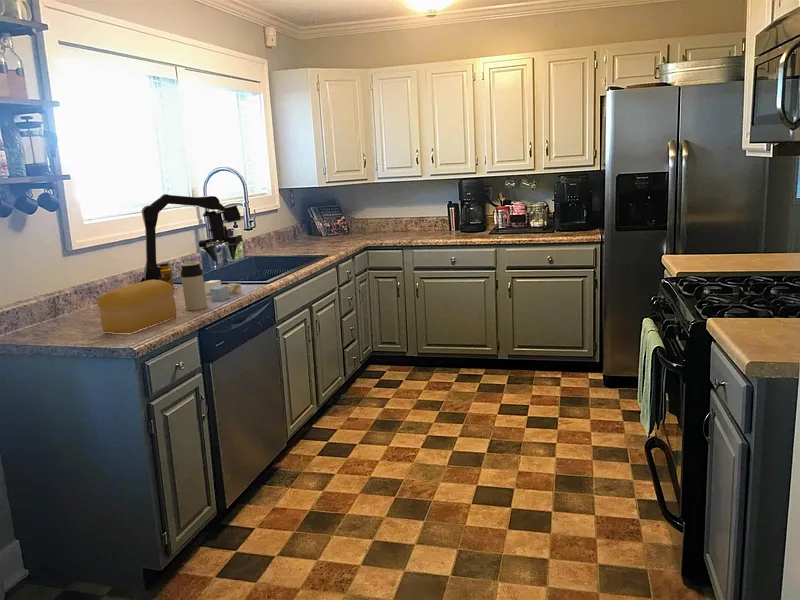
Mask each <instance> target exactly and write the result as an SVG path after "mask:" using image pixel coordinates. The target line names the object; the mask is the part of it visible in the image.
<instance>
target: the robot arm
mask: <svg viewBox="0 0 800 600" xmlns="http://www.w3.org/2000/svg"><path fill="white" fill-rule="evenodd" d="M169 204H170V205H182V206H193V207H194V206H195V207H200V208H203V209H208V210H210V211H208V210H204V212H203V214H202V217H207V219H208V224H209V229H208V231H209V232H210V233H211V237H209V238H203V239H200V240H199V241H198V247H199V248H201V249H202V250H204V251H205V252H206V254H208V255H209V256H210V258H211V259H212V260H213V261H214V263H215V262H217V255H216V252H215V247H216V246H215V245H218V244H228V245H227V248H228V250H229V254H230V257H231V259H232V261H234V260H236V252H237V247H238V246H239V245H240V244H241V242H243V237H242V235H240V234H237V235H234V230H231V229H227V225H224V222H226V223H227V224H230V223H234V222H239V221H241V219H242V217H241V213H240V211H239V209H238V205H236V204H235V205H231V206H227V207H225V206H224V205H223V204H221V202H220V200H219V198H218V197H217V196H215V195H214V196H213V195H205V196H187V195H186V196H184V195H175V194H167V193H164V194H162V195H161V196H160V197H159V198H158V199H156V200H155V201H153V202H152V203H151V204H147V205H145V206H143V207H142V209H141V216H142V219H143V225H144V227H145V228H144V229H145V231H144V232H145V258H146V259H145V265H144V269H143V270H144V271H143V277H142V278H141V279H140V281H139V282H138V283H140V282H143V281H147V280H160V277H162V276H161V267H160V266H159V265H158V266H157V264H158V263H157V246H156V245H157V239H156V238H157V237H156V234H157V233H156V228H157V224H158V223H157V222H158V220H159V219H158V217H159V213H160V212H161V211H162V210H164V208H165V207H166V206H168V205H169ZM216 210H217V211H218V212H216Z"/></svg>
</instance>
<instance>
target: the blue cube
mask: <svg viewBox="0 0 800 600" xmlns="http://www.w3.org/2000/svg"><path fill="white" fill-rule="evenodd" d="M209 294H210V296H211V301H216V302H217V301H218V302H222V301H225V300H227V299H229V297H230V296H229V292H228V287H227V286H223V285H222V284H221V285H218V286H216V287H213V288H211V289H210V293H209Z"/></svg>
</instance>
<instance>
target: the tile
mask: <svg viewBox="0 0 800 600" xmlns="http://www.w3.org/2000/svg"><path fill="white" fill-rule="evenodd" d="M229 296H230V297H229V298H230V299H232V298H236V297H239V296H241V294H237V295H236V294H235V295H229ZM229 298H228V299H229Z"/></svg>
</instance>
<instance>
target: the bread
mask: <svg viewBox="0 0 800 600" xmlns="http://www.w3.org/2000/svg"><path fill="white" fill-rule="evenodd" d="M139 282H140V281H139ZM139 282H137V283H134V284H133V283H132V284H129V285H126V286H123V287H120V288H117V289H112V290H110V291H107V292H105V293H104V294H102V295H101V296H100V297H99V298H98V300H97V307H98V309H99V311H100V322H101V327H102V331H103V333H104V332H113V333H132V332H135V331H138V330H140V329H143V328H146V327H149V326H152V325H154V324H157V323H160V322H163V321H165V320H168V319H171V318H173V317H176V318H177V304H176V301H175V297H174V293H175V292H174V291H175V289H173V287H174V286H173V287H172V285H171V284H169V283H167V282H165V281H161V280H147V281H143V282H140V283H139ZM171 320H172V319H171ZM163 323H164V322H163Z"/></svg>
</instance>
